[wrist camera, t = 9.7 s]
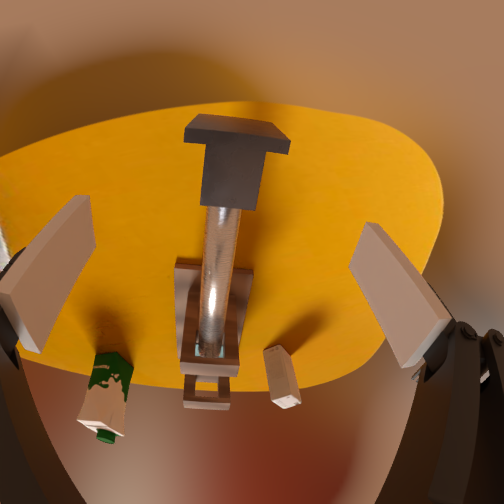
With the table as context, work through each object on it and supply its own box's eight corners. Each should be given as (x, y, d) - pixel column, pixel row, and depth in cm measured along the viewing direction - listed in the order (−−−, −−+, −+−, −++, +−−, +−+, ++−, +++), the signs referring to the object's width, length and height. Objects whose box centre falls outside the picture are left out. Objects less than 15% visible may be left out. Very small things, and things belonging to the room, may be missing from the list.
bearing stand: (234, 357, 57) (238, 419, 45) (178, 353, 55) (173, 415, 43) (252, 269, 44) (263, 345, 32) (175, 263, 42) (159, 338, 30)
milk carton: (112, 373, 59) (98, 442, 43) (90, 352, 54) (69, 426, 38) (139, 369, 58) (127, 445, 42) (116, 348, 53) (98, 429, 37)
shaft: (233, 330, 41) (235, 381, 34) (186, 327, 40) (182, 378, 33) (271, 122, 25) (290, 141, 18) (198, 113, 24) (184, 127, 16)
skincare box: (261, 350, 56) (268, 401, 46) (281, 342, 55) (290, 394, 45) (274, 362, 59) (281, 410, 49) (292, 356, 58) (302, 403, 48)
